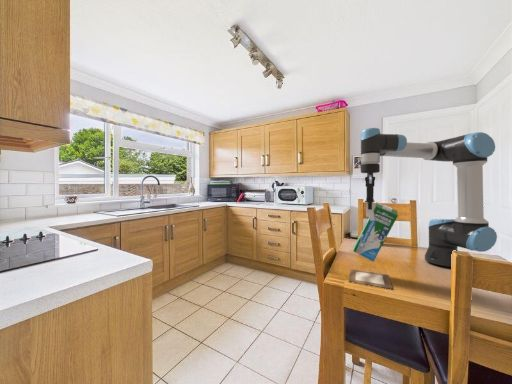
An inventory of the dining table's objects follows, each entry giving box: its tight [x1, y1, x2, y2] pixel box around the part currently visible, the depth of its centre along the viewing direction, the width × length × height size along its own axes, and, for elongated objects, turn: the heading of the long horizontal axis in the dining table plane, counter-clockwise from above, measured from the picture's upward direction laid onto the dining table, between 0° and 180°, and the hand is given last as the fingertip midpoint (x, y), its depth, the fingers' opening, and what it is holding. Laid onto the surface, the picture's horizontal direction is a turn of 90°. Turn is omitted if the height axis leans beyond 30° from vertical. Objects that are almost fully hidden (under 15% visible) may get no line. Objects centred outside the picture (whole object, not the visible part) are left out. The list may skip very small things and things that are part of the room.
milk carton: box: [352, 202, 398, 262], centre depth 100 cm, size 9×9×25 cm
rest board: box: [348, 268, 393, 290], centre depth 98 cm, size 16×16×1 cm
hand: (369, 216), depth 97 cm, fingers closed on milk carton
